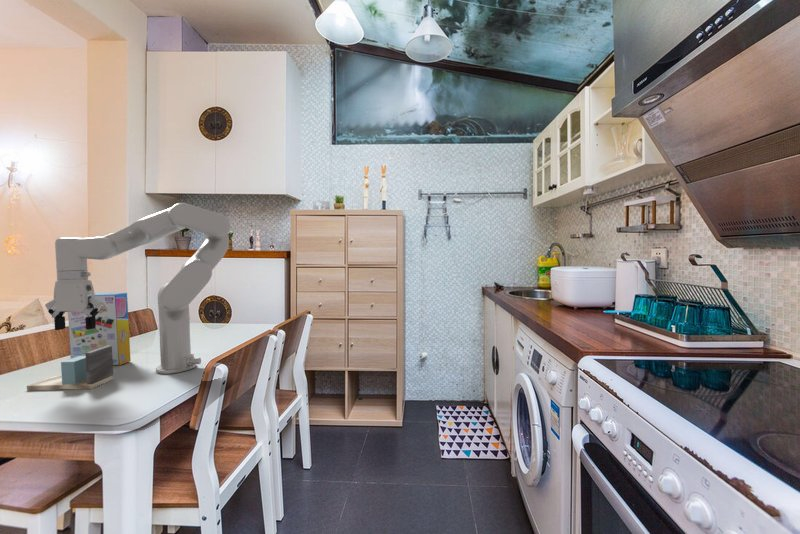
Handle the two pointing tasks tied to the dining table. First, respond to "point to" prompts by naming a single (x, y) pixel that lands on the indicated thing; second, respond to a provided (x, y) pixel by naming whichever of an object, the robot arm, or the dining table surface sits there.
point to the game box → (103, 329)
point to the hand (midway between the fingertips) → (75, 329)
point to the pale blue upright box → (74, 370)
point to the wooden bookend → (96, 369)
